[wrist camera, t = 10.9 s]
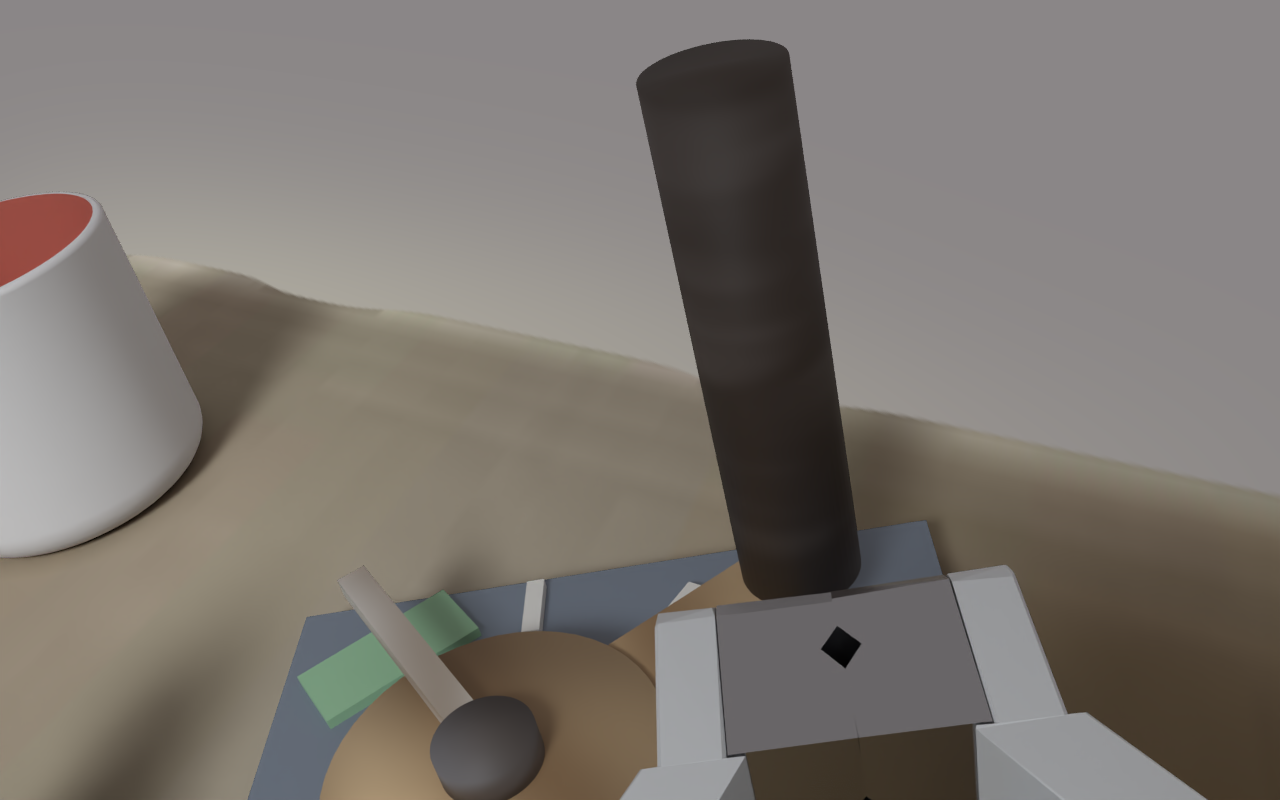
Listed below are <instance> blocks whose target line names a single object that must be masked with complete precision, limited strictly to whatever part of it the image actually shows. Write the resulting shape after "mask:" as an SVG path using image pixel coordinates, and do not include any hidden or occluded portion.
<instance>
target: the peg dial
mask: <svg viewBox="0 0 1280 800" xmlns="http://www.w3.org/2000/svg"><path fill="white" fill-rule="evenodd" d="M791 71H792V70H791V64H790V57H789V52H788V50H787V49H786V48H785V47H784V46H782V45H780V44H778V43H775V42H771V41H764V40H750V39H749V40H731V41H722V42H716V43H711V44H706V45H702V46H698V47H694V48H690V49H687V50H684V51H681V52H678V53H675V54H673V55H670V56H668V57H666V58H663V59H662V60H659V61H658V62H656V63H654V64H652V65H651V66H650V67H648V68H647V69H645V70H644V71H643V72H642V73H641V74H640V76H639V77H638V79H637V82H636V86H637V90H638V95H639V100H640V105H641V109H642V114H643V118H644V123H645V127H646V132H647V137H648V142H649V146H650V151H651V155H652V160H653V165H654V170H655V174H656V179H657V183H658V188H659V192H660V197H661V202H662V207H663V211H664V216H665V221H666V225H667V230H668V234H669V239H670V244H671V248H672V253H673V258H674V262H675V267H676V271H677V276H678V281H679V285H680V290H681V295H682V299H683V304H684V308H685V313H686V318H687V323H688V327H689V332H690V336H691V341H692V346H693V350H694V355H695V359H696V364H697V369H698V373H699V378H700V383H701V387H702V392H703V397H704V401H705V406H706V411H707V415H708V420H709V424H710V429H711V434H712V438H713V443H714V448H715V452H716V457H717V462H718V466H719V471H720V475H721V480H722V485H723V489H724V494H725V499H726V503H727V508H728V513H729V517H730V522H731V526H732V531H733V536H734V540H735V545H736V550H737V554H738V559H739V561H738V562H737V563H735V564H734V565H732V566H730V567H729V568H727V569H726V570H724V571H723V572H721V573H720V574H718V575H716V576H715V577H713V578H712V579H710V580H709V581H707V582H706V583H704V584H702V585H701V586H699V587H698V588H696V589H695V590H693V591H692V592H690V593H688V594H687V595H685V596H684V597H682V598H681V599H679V600H677V601H676V602H674V603H673V604H671V605H670V606H668V607H667V608H665V609H663V610H662V611H660V612H659V613H668V612H677V611H686V610H695V609H704V608H713V607H716V606H718V605H727V604H735V603H744V602H752V601H761V600H769V599H778V598H786V597H795V596H804V595H812V594H821V593H829V592H831V591H837V590H844V589H848V588H849V587H850V586H851V585H852V584H853V583H854V582H855V580H856V578H857V577H858V575H859V572H860V569H861V554H860V547H859V540H858V533H857V526H856V519H855V512H854V505H853V498H852V491H851V484H850V477H849V470H848V463H847V456H846V449H845V442H844V435H843V428H842V421H841V414H840V407H839V400H838V393H837V386H836V379H835V372H834V365H833V358H832V351H831V344H830V337H829V330H828V323H827V317H826V309H825V302H824V295H823V288H822V281H821V274H820V268H819V260H818V253H817V246H816V239H815V232H814V225H813V218H812V211H811V204H810V197H809V190H808V183H807V176H806V169H805V162H804V155H803V148H802V141H801V134H800V127H799V120H798V113H797V106H796V98H795V92H794V84H793V77H792V72H791ZM337 581H338V583H339V586H340V588H341V590H342V592H343V594H344V596H345V598H346V599H347V600H348V602H349V603H350V604H351V606H352V607H353V608H354V610H355V611H356V612H357V614H358V615H359V616H360V618H361V619H362V620H363V622H364V623H365V624H366V625H367V627H368V628H369V629H370V631H371V632H372V633H373V635H374V636H375V637H376V639H377V640H378V641H379V643H380V644H381V645H382V647H383V648H384V649H385V651H386V652H387V653H388V655H389V656H390V657H391V658H392V660H393V661H394V662H395V664H396V665H397V666H398V668H399V669H400V670H401V672H402V673H403V674H404V677H402V678H401V679H399V680H398V681H397V682H396V683H394V684H393V685H392V686H391V687H389V688H388V689H387V690H386V691H384V692H383V693H382V694H381V695H380V696H379V697H378V698H377V699H376V700H375V701H374V702H373V703H372V704H371V705H370V706H369V707H368V708H367V709H366V710H365V711H364V712H363V714H362V715H361V716H360V717H359V718H358V719H357V720H356V722H355V723H354V724H353V726H352V727H351V728H350V730H349V731H348V733H347V734H346V736H345V737H344V738H343V740H342V742H341V743H340V745H339V747H338V749H337V751H336V752H335V754H334V756H333V758H332V760H331V763H330V765H329V768H328V770H327V773H326V775H325V778H324V782H323V786H322V790H321V794H320V800H620V798H621V797H622V795H623V794H624V792H625V791H626V789H627V788H628V786H629V785H630V784H631V782H632V781H633V779H634V778H635V776H636V775H637V773H638V772H639V771H640V769H646V768H653V767H657V718H656V669H655V625H656V620H657V616H658V614H659V613H657V614H656V615H654V616H653V617H651V618H649V619H648V620H646V621H645V622H643V623H642V624H640V625H639V626H637V627H635V628H634V629H632V630H631V631H629V632H628V633H626V634H624V635H623V636H621V637H620V638H618V639H617V640H615V641H614V642H612V643H610V644H609V645H606V644H603V643H601V642H599V641H596V640H594V639H590V638H587V637H583V636H579V635H576V634H569V633H562V632H551V631H529V632H516V633H509V634H503V635H497V636H493V637H489V638H485V639H481V640H477V641H474V642H471V643H469V644H466V645H463V646H460V647H457V648H455V649H453V650H450V651H448V652H446V653H444V654H441V655H439V656H437V655H436V653H435V652H434V651H433V650H432V649H431V647H430V646H429V645H428V644H427V642H426V641H425V640H424V639H423V637H422V636H421V635H420V634H419V633H418V631H417V630H416V629H415V628H414V626H413V625H412V624H411V623H410V622H409V620H408V619H407V618H406V617H405V615H404V614H403V613H402V612H401V610H400V609H399V608H398V607H397V606H396V604H395V603H394V602H393V601H392V599H391V598H390V597H389V596H388V594H387V593H386V592H385V591H384V590H383V588H382V587H381V586H380V585H379V583H378V582H377V581H376V580H375V579H374V577H373V576H372V575H371V574H370V572H369V571H368V570H367V569H366V567H365V566H364V565H363V566H362V567H360V568H358V569H356V570H354V571H353V572H351V573H349V574H347V575H346V576H344V577H342V578H340V579H338V580H337Z"/></svg>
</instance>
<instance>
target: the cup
mask: <svg viewBox="0 0 1280 800" xmlns="http://www.w3.org/2000/svg"><path fill="white" fill-rule="evenodd" d="M202 423H203V420H202V413H201V409H200V405H199V403H198V400H197V398H196V396H195V394H194V392H193V390H192V388H191V386H190V384H189V382H188V380H187V378H186V376H185V374H184V372H183V370H182V368H181V366H180V364H179V362H178V360H177V358H176V356H175V354H174V352H173V349H172V347H171V345H170V343H169V341H168V339H167V337H166V335H165V333H164V331H163V329H162V327H161V325H160V323H159V321H158V319H157V317H156V315H155V313H154V311H153V309H152V307H151V305H150V303H149V301H148V299H147V297H146V295H145V293H144V291H143V289H142V287H141V284H140V282H139V280H138V278H137V276H136V274H135V272H134V270H133V268H132V266H131V264H130V262H129V260H128V258H127V256H126V254H125V252H124V250H123V248H122V246H121V244H120V242H119V240H118V238H117V236H116V234H115V232H114V230H113V228H112V226H111V224H110V222H109V220H108V218H107V216H106V214H105V212H104V210H103V208H102V206H101V204H100V203H99V202H98V201H97V200H95V199H94V198H92V197H90V196H88V195H84V194H80V193H73V192H47V193H38V194H31V195H25V196H19V197H14V198H10V199H5V200H1V201H0V558H18V557H29V556H37V555H42V554H47V553H52V552H56V551H59V550H63V549H66V548H69V547H72V546H75V545H78V544H81V543H83V542H86V541H88V540H91V539H93V538H95V537H98V536H100V535H102V534H104V533H106V532H108V531H110V530H112V529H114V528H116V527H118V526H119V525H121V524H123V523H125V522H126V521H128V520H130V519H131V518H133V517H134V516H136V515H138V514H139V513H140V512H142V511H143V510H145V509H146V508H147V507H149V506H150V505H151V504H153V503H154V502H155V501H156V500H158V499H159V498H160V497H161V496H162V495H163V494H164V493H165V492H166V491H167V490H169V489H170V488H171V487H172V486H173V485H174V483H175V482H176V481H177V480H178V479H179V478H180V477H181V475H182V474H183V473H184V471H185V470H186V469H187V467H188V466H189V464H190V463H191V461H192V459H193V458H194V455H195V453H196V451H197V448H198V446H199V443H200V439H201V435H202Z"/></svg>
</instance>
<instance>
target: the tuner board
mask: <svg viewBox="0 0 1280 800" xmlns="http://www.w3.org/2000/svg"><path fill="white" fill-rule="evenodd" d="M857 533H858V540H859V547H860V554H861V569H860V572H859V575H858V577H857V578H856V580H855V582H854V583H853V584H852V585H851V586H850V587H849V588H848V589H851V588H857V587H864V586H871V585H877V584H884V583H891V582H897V581H904V580H910V579H917V578H924V577H930V576H937V575H943V574H942V571H941V568H940V564H939V561H938V558H937V555H936V551H935V548H934V545H933V541H932V538H931V535H930V531H929V528H928V525H927V521H926V520H923V521H917V522H910V523H904V524H898V525H891V526H885V527H878V528H872V529H866V530H859V531H857ZM738 561H739V559H738V554H737V550H732V551H725V552H719V553H713V554H706V555H700V556H693V557H687V558H681V559H674V560H668V561H661V562H655V563H649V564H642V565H636V566H630V567H623V568H617V569H610V570H604V571H598V572H591V573H585V574H578V575H572V576H566V577H559V578H553V579H547V580H544V579H539V580H533V581H527V583H521V584H515V585H508V586H502V587H496V588H489V589H483V590H476V591H470V592H464V593H457V594H451V595H448V594H447V593H446V592H445V591H444V590H441V591H440V592H438V593H436V594H435V595H433V596H431V597H430V598H425V599H419V600H413V601H406V602H400V603H395V604H396V606H397V607H398V608H399V609H400V610H401V612H402V613H403V614H404V615H405V617H406V618H407V619H408V620H409V622H410V623H411V624H412V625H413V626H414V628H415V629H416V630H417V631H418V633H419V634H420V635H421V636H422V637H423V639H424V640H425V641H426V642H427V644H428V645H429V646H430V647H431V649H432V650H433V651H434V652H435V653H436V655H437V656H439V655H441V654H444V653H446V652H448V651H450V650H453V649H455V648H457V647H460V646H463V645H466V644H469V643H471V642H474V641H477V640H481V639H485V638H489V637H493V636H497V635H503V634H509V633H516V632H529V631H551V632H562V633H569V634H576V635H579V636H583V637H587V638H590V639H594V640H596V641H599V642H601V643H603V644H606V645H609V644H610V643H612V642H614V641H615V640H617V639H618V638H620V637H621V636H623V635H624V634H626V633H628V632H629V631H631V630H632V629H634V628H635V627H637V626H639V625H640V624H642V623H643V622H645V621H646V620H648V619H649V618H651V617H653V616H654V615H656V614H657V613H659V612H660V611H662V610H663V609H665V608H667V607H668V606H670V605H671V604H673V603H674V602H676V601H677V600H679V599H681V598H682V597H684V596H685V595H687V594H688V593H690V592H692V591H693V590H695V589H696V588H698V587H699V586H701V585H702V584H704V583H706V582H707V581H709V580H710V579H712V578H713V577H715V576H716V575H718V574H720V573H721V572H723V571H724V570H726V569H727V568H729V567H730V566H732V565H734V564H735V563H737V562H738ZM402 677H404V674H403V673H402V672H401V670H400V669H399V668H398V666H397V665H396V664H395V662H394V661H393V660H392V658H391V657H390V656H389V655H388V653H387V652H386V651H385V649H384V648H383V647H382V645H381V644H380V643H379V641H378V640H377V639H376V637H375V636H374V635H373V633H372V632H371V631H370V629H369V628H368V627H367V625H366V624H365V623H364V622H363V620H362V619H361V618H360V616H359V615H358V614H357V612H356V611H355V610H349V611H342V612H336V613H330V614H323V615H317V616H310V617H307V618H306V621H305V624H304V627H303V630H302V633H301V636H300V639H299V642H298V646H297V649H296V652H295V655H294V658H293V661H292V664H291V667H290V670H289V673H288V676H287V679H286V683H285V686H284V689H283V692H282V695H281V698H280V701H279V704H278V707H277V710H276V713H275V717H274V720H273V723H272V726H271V729H270V732H269V735H268V738H267V741H266V744H265V747H264V751H263V754H262V757H261V760H260V763H259V766H258V769H257V772H256V775H255V778H254V781H253V785H252V788H251V791H250V794H249V797H248V800H320V794H321V790H322V786H323V782H324V778H325V775H326V773H327V770H328V768H329V765H330V763H331V760H332V758H333V756H334V754H335V752H336V751H337V749H338V747H339V745H340V743H341V742H342V740H343V738H344V737H345V736H346V734H347V733H348V731H349V730H350V728H351V727H352V726H353V724H354V723H355V722H356V720H357V719H358V718H359V717H360V716H361V715H362V714H363V712H364V711H365V710H366V709H367V708H368V707H369V706H370V705H371V704H372V703H373V702H374V701H375V700H376V699H377V698H378V697H379V696H380V695H381V694H382V693H383V692H384V691H386V690H387V689H388V688H389V687H391V686H392V685H393V684H394V683H396V682H397V681H398V680H399V679H401V678H402Z"/></svg>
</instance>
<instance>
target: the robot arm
mask: <svg viewBox="0 0 1280 800" xmlns="http://www.w3.org/2000/svg"><path fill="white" fill-rule="evenodd" d="M655 669H656V718H657V767H653V768H646V769H640V771H639V772H638V773H637V775H636V776H635V778H634V779H633V781H632V782H631V784H630V785H629V786H628V788H627V789H626V791H625V792H624V794H623V795H622V797H621V798H620V800H1207V799H1206V798H1205V797H1203V796H1202V795H1200V794H1199V793H1198V792H1196V791H1195V790H1194V789H1192V788H1191V787H1189V786H1188V785H1187V784H1185V783H1184V782H1182V781H1181V780H1180V779H1178V778H1177V777H1176V776H1174V775H1173V774H1171V773H1170V772H1169V771H1167V770H1166V769H1164V768H1163V767H1162V766H1160V765H1159V764H1158V763H1156V762H1155V761H1153V760H1152V759H1151V758H1149V757H1148V756H1147V755H1145V754H1144V753H1142V752H1141V751H1140V750H1138V749H1137V748H1135V747H1134V746H1133V745H1131V744H1130V743H1129V742H1127V741H1126V740H1124V739H1123V738H1122V737H1120V736H1119V735H1118V734H1116V733H1115V732H1113V731H1112V730H1111V729H1109V728H1108V727H1106V726H1105V725H1104V724H1102V723H1101V722H1100V721H1098V720H1097V719H1095V718H1094V717H1093V716H1091V715H1090V714H1088V713H1087V712H1084V713H1073V714H1068V713H1067V711H1066V708H1065V706H1064V703H1063V700H1062V698H1061V695H1060V692H1059V690H1058V687H1057V684H1056V682H1055V679H1054V677H1053V674H1052V671H1051V669H1050V666H1049V663H1048V661H1047V658H1046V655H1045V653H1044V650H1043V648H1042V645H1041V642H1040V640H1039V637H1038V634H1037V632H1036V629H1035V627H1034V624H1033V621H1032V619H1031V616H1030V613H1029V611H1028V608H1027V605H1026V603H1025V600H1024V598H1023V595H1022V592H1021V590H1020V587H1019V584H1018V582H1017V579H1016V576H1015V574H1014V572H1013V571H1012V570H1011V569H1010V568H1009V567H1008V566H1007V565H1001V566H994V567H988V568H981V569H975V570H968V571H962V572H955V573H948V574H947V576H945V575H937V576H930V577H924V578H917V579H910V580H904V581H897V582H891V583H884V584H877V585H871V586H864V587H857V588H851V589H844V590H837V591H831V592H829V593H821V594H812V595H804V596H795V597H786V598H778V599H769V600H761V601H752V602H744V603H735V604H727V605H718V606H716V607H713V608H704V609H695V610H686V611H677V612H668V613H659V614H658V616H657V620H656V625H655Z"/></svg>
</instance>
